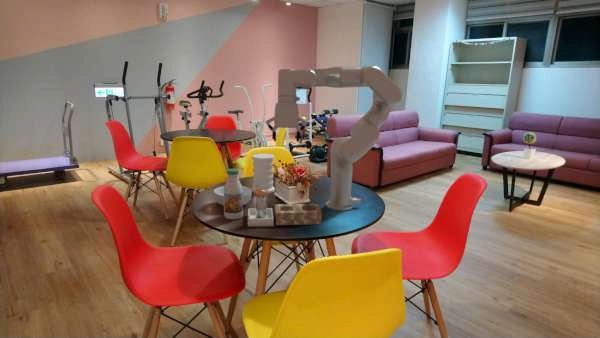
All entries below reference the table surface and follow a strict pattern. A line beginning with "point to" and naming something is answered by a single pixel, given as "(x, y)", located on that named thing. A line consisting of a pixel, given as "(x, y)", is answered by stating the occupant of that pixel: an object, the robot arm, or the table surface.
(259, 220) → the tray
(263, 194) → the pin
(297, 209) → the socket block
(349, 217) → the table surface
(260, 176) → the decorative container
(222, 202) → the cereal bowl
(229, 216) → the milk bottle
